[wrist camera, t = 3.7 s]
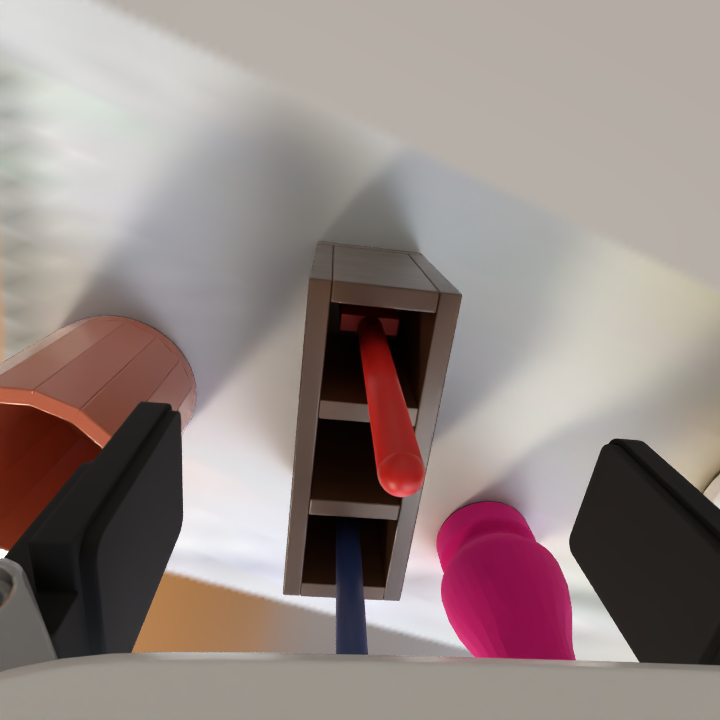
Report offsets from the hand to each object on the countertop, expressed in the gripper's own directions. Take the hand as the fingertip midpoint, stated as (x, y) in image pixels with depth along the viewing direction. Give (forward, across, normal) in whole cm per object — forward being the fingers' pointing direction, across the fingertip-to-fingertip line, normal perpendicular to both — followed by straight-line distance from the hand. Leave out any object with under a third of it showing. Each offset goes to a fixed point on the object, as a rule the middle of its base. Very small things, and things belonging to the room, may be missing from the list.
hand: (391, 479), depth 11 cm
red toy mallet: (+16, 0, 0) cm, 16 cm away
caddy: (+16, 0, +5) cm, 17 cm away
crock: (+16, +12, +7) cm, 22 cm away
